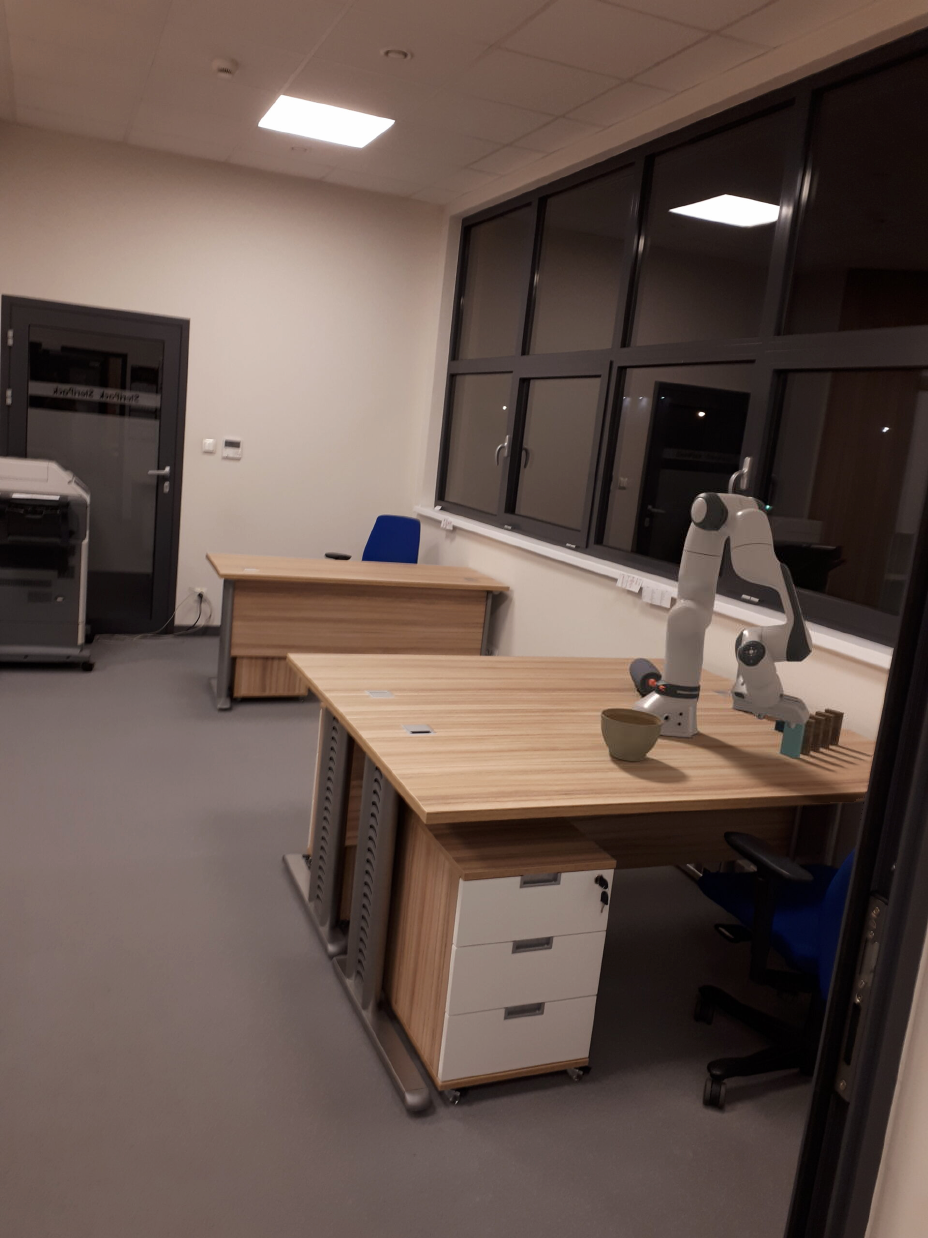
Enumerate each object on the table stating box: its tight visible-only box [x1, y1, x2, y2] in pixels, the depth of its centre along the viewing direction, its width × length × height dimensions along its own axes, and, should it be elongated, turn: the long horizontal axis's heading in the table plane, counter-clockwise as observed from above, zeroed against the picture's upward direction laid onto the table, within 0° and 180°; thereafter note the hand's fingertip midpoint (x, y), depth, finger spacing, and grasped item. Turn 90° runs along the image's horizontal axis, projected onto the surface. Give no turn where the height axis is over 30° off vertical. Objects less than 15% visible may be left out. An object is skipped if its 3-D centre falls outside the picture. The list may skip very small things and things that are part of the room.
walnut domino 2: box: [808, 713, 825, 753], centre depth 275 cm, size 2×5×10 cm, turn 45°
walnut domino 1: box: [800, 719, 816, 756], centre depth 271 cm, size 2×5×10 cm, turn 46°
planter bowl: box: [600, 707, 663, 762], centre depth 248 cm, size 16×16×11 cm
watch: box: [773, 719, 785, 734], centre depth 292 cm, size 6×8×11 cm
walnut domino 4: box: [824, 708, 845, 746], centre depth 285 cm, size 2×5×10 cm, turn 45°
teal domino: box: [779, 720, 806, 760], centre depth 266 cm, size 2×5×10 cm, turn 46°
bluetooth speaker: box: [628, 657, 662, 696], centre depth 326 cm, size 23×9×10 cm, turn 179°
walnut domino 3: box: [814, 710, 835, 750], centre depth 280 cm, size 2×5×10 cm, turn 45°
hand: (776, 721), depth 256 cm, fingers open, 8 cm apart
